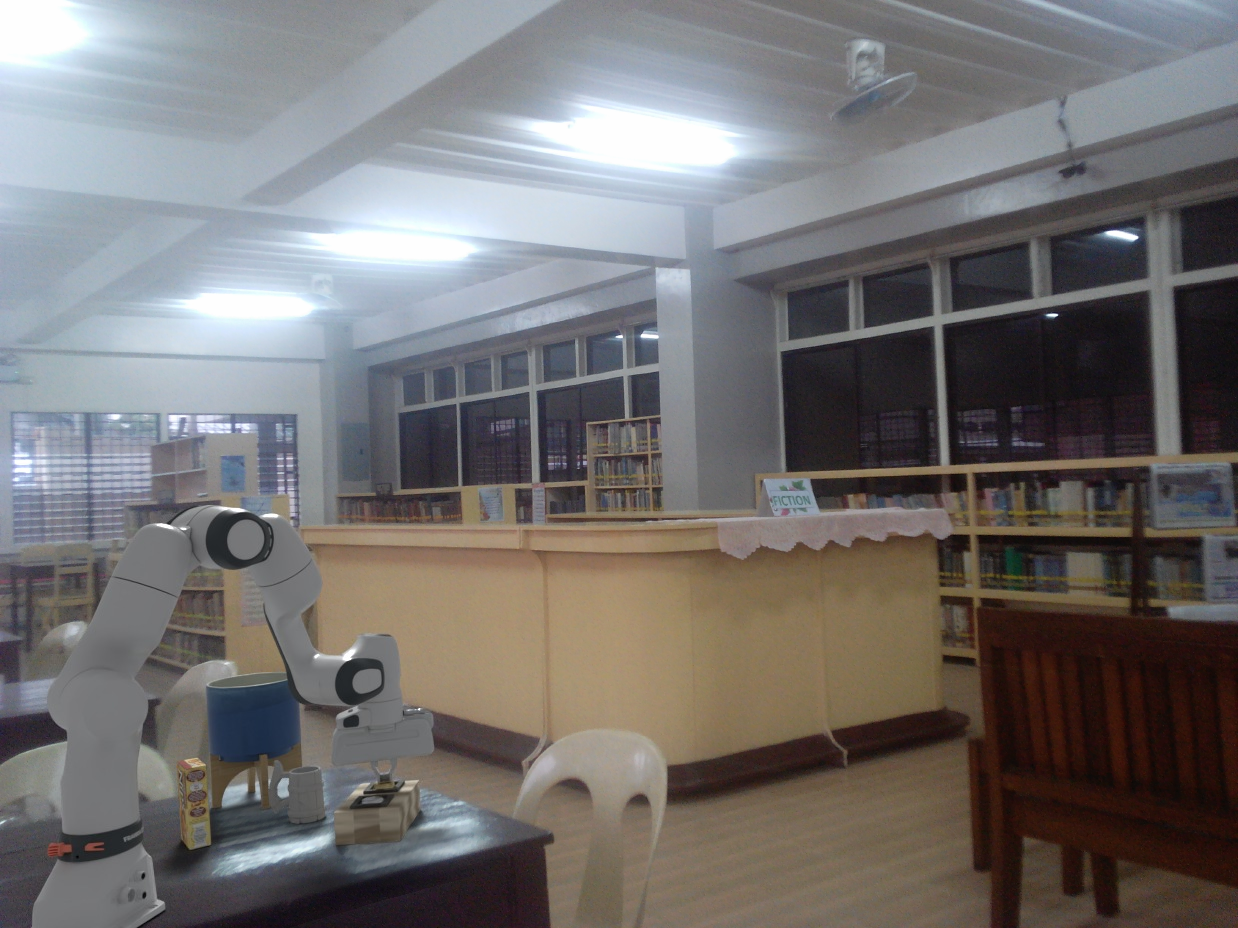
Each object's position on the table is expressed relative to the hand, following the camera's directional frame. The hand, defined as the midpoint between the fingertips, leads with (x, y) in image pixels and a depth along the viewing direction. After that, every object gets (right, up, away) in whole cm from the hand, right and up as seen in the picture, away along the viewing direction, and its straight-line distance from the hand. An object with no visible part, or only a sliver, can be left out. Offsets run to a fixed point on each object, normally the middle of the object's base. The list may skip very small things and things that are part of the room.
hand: (384, 782), depth 210 cm
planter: (-32, -10, +21) cm, 40 cm away
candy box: (-35, -9, -8) cm, 37 cm away
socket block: (0, -7, -5) cm, 9 cm away
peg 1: (0, -7, -10) cm, 12 cm away
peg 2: (0, -7, 0) cm, 7 cm away
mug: (-19, -9, +4) cm, 21 cm away
